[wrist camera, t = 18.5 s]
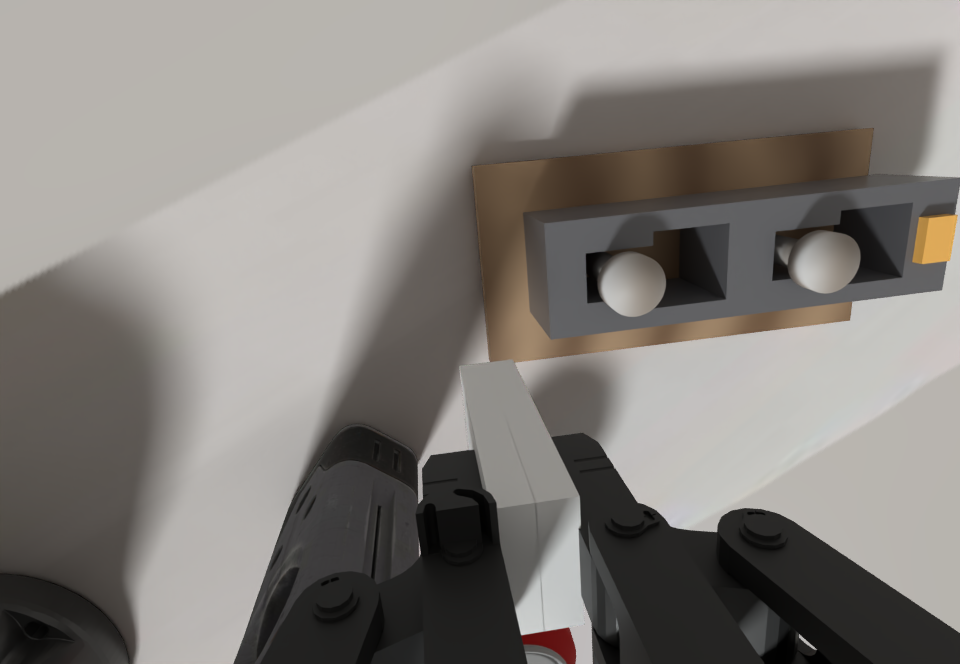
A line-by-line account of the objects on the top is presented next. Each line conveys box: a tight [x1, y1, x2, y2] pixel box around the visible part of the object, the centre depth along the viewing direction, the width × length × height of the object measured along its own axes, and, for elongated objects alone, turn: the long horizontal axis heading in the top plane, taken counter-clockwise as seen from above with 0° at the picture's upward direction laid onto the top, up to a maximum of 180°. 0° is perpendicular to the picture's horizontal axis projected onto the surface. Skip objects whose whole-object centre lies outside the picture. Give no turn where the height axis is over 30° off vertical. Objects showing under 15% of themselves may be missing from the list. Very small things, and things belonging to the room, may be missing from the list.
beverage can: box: [521, 627, 576, 664], centre depth 35 cm, size 7×7×12 cm
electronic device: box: [234, 424, 419, 664], centre depth 28 cm, size 9×6×20 cm, turn 146°
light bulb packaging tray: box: [523, 174, 960, 340], centre depth 31 cm, size 22×6×6 cm, turn 95°
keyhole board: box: [472, 128, 874, 362], centre depth 31 cm, size 24×12×8 cm, turn 95°
